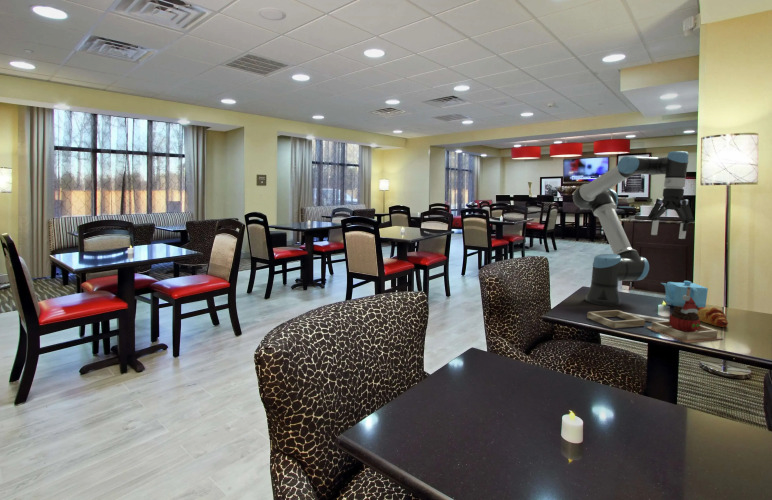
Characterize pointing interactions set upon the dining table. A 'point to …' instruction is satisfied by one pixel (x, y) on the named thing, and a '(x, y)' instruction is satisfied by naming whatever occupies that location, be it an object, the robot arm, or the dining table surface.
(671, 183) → the robot arm
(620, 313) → the square wooden frames
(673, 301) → the teapot
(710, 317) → the croissant
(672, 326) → the cake
